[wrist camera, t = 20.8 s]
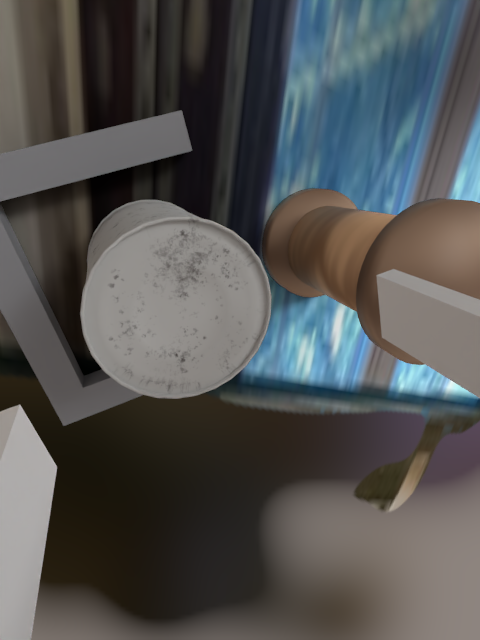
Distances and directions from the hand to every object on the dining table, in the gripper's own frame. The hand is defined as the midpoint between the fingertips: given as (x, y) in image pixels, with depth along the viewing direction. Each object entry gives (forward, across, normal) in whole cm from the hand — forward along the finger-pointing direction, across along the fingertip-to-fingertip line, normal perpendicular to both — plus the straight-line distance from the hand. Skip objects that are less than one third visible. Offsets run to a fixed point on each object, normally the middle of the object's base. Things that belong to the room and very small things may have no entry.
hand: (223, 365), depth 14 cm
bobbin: (+19, +13, -3) cm, 23 cm away
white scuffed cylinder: (+19, -1, 0) cm, 19 cm away
